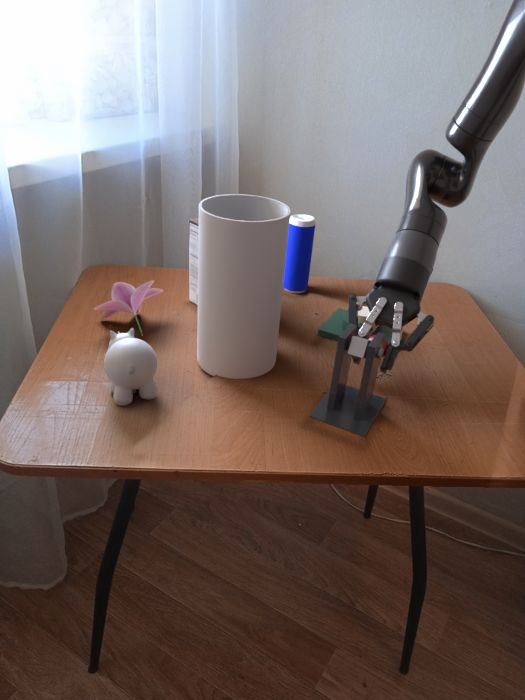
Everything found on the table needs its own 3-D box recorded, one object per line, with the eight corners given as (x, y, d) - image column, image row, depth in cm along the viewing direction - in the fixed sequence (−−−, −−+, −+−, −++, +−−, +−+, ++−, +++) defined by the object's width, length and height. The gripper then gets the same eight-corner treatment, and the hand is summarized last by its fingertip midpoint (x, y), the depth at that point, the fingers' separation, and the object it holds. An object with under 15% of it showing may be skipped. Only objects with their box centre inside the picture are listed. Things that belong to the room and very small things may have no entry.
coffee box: (225, 289, 112) (228, 210, 104) (246, 300, 108) (251, 220, 100) (187, 300, 107) (188, 218, 99) (208, 313, 103) (210, 228, 95)
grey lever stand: (334, 387, 85) (346, 312, 78) (385, 405, 82) (402, 328, 76) (308, 422, 77) (319, 342, 71) (363, 442, 74) (380, 361, 68)
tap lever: (364, 354, 87) (371, 332, 86) (386, 361, 85) (393, 338, 85) (340, 356, 74) (348, 330, 73) (366, 364, 72) (375, 337, 72)
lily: (175, 321, 102) (157, 270, 100) (173, 327, 90) (152, 270, 88) (112, 342, 101) (92, 291, 99) (101, 351, 89) (79, 294, 88)
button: (376, 318, 98) (378, 309, 97) (369, 327, 95) (371, 318, 94) (354, 312, 99) (356, 303, 98) (347, 321, 96) (348, 312, 95)
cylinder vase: (254, 393, 82) (267, 228, 69) (181, 369, 86) (181, 209, 74) (287, 355, 92) (303, 204, 79) (220, 335, 96) (226, 189, 83)
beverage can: (311, 288, 116) (320, 217, 108) (300, 296, 112) (308, 223, 104) (289, 281, 118) (296, 211, 110) (277, 289, 114) (284, 217, 106)
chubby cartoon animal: (145, 359, 88) (143, 311, 84) (163, 403, 79) (162, 351, 74) (98, 366, 85) (93, 316, 81) (111, 411, 76) (106, 358, 72)
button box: (399, 336, 101) (403, 316, 99) (382, 360, 93) (387, 339, 91) (337, 318, 105) (340, 298, 103) (316, 340, 97) (319, 319, 95)
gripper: (361, 244, 86) (321, 345, 83) (454, 266, 81) (415, 374, 78) (365, 267, 93) (329, 360, 90) (451, 288, 88) (416, 388, 85)
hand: (369, 366), depth 84 cm, fingers closed on tap lever, 3 cm apart
